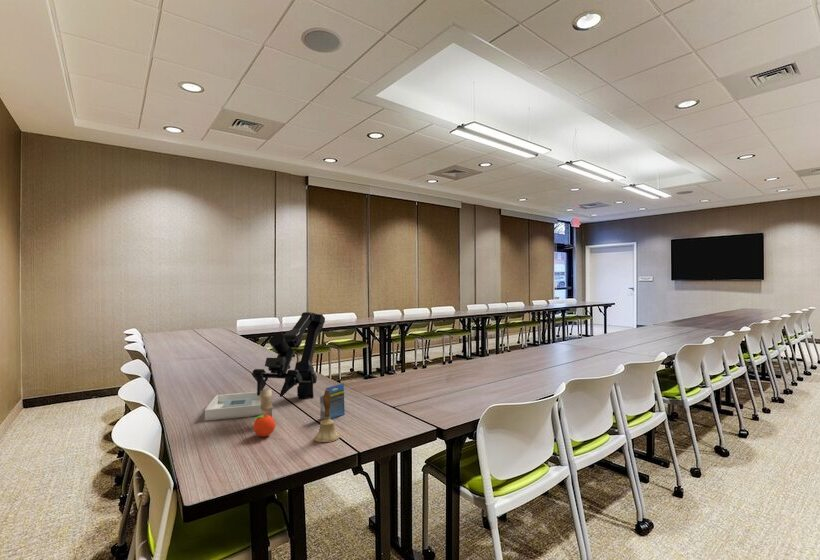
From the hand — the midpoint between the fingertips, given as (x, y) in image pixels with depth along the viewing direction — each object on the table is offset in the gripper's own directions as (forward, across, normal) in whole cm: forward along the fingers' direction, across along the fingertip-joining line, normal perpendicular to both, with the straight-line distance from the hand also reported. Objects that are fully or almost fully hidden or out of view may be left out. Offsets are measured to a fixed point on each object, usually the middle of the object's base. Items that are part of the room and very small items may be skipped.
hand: (269, 395), depth 147 cm
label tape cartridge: (+1, +22, +13) cm, 25 cm away
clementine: (+16, +5, -2) cm, 17 cm away
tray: (-1, -20, +14) cm, 25 cm away
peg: (+8, 0, +5) cm, 10 cm away
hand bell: (+15, +28, -1) cm, 31 cm away
